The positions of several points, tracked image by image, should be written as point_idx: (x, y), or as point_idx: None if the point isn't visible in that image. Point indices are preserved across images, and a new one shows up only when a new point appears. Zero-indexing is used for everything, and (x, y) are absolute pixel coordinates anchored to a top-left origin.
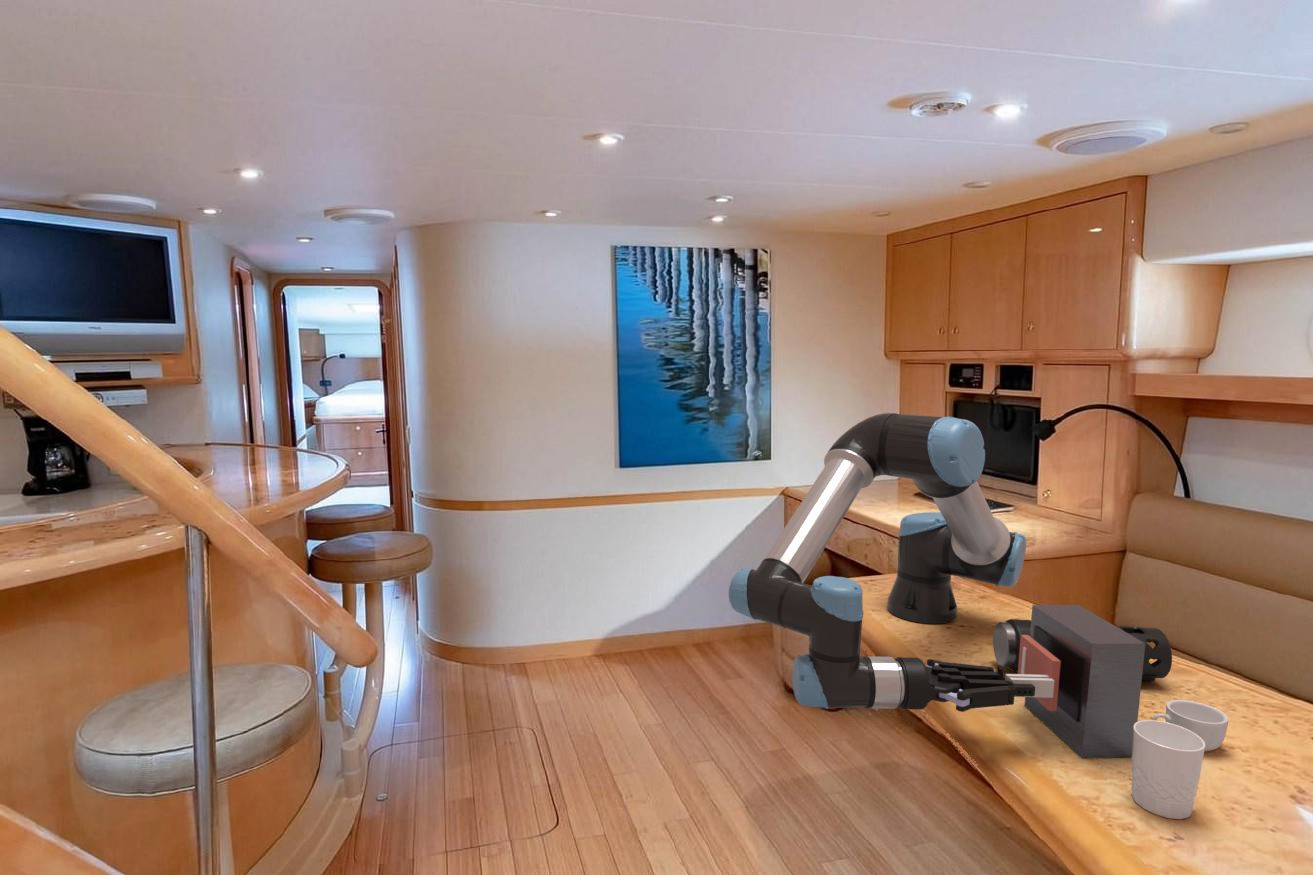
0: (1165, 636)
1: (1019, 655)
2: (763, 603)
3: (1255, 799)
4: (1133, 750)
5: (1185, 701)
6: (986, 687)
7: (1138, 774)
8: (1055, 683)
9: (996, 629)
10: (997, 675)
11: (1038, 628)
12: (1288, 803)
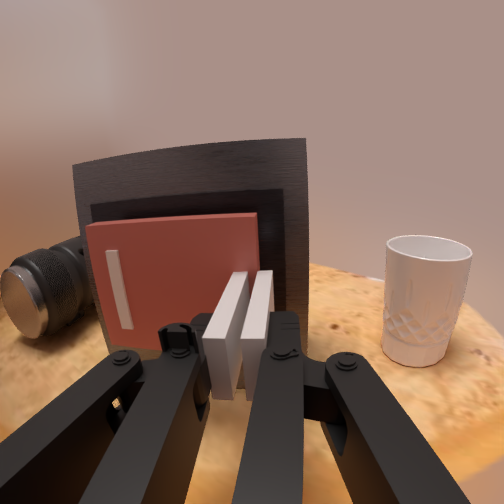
0: None
1: (96, 283)
2: None
3: (369, 291)
4: (431, 298)
5: None
6: (385, 469)
7: (441, 325)
8: None
9: (3, 286)
10: (196, 367)
11: (104, 203)
12: (368, 280)
